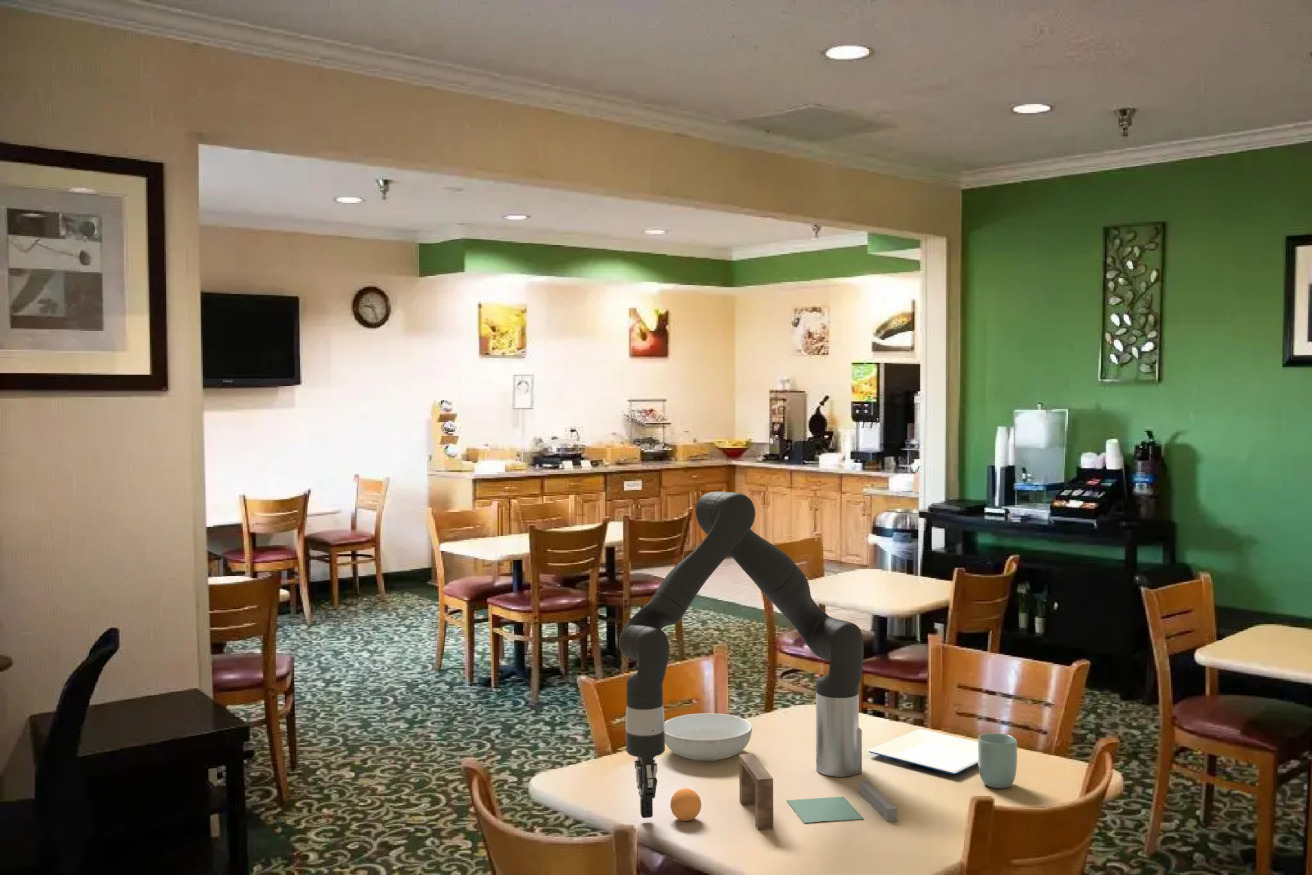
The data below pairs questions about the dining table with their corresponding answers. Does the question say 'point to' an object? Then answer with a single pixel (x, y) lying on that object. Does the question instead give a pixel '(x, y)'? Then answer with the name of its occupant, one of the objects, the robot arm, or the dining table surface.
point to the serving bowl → (707, 735)
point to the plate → (931, 751)
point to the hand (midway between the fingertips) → (646, 816)
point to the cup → (997, 759)
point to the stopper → (878, 800)
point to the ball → (685, 804)
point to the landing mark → (824, 809)
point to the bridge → (756, 789)
